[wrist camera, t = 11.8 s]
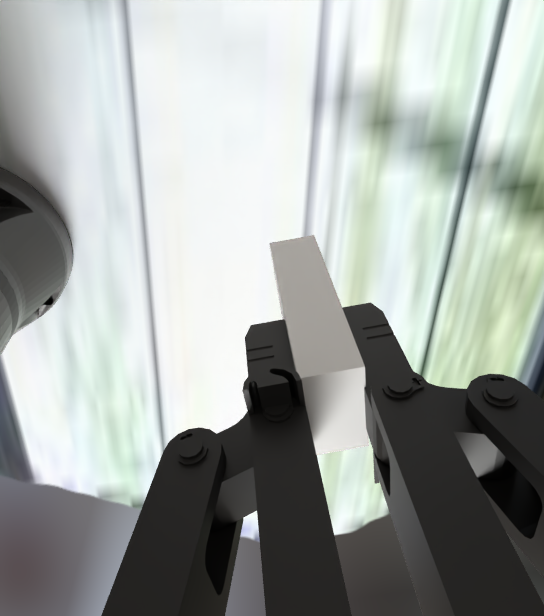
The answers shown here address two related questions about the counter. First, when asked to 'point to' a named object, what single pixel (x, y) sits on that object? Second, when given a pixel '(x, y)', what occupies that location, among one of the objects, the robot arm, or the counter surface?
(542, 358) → the counter surface
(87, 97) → the counter surface
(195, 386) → the counter surface
